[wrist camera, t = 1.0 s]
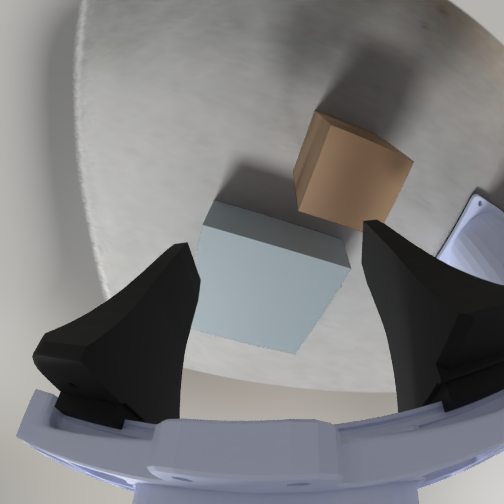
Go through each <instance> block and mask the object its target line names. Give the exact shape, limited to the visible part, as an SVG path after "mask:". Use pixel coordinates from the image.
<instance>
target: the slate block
mask: <svg viewBox="0 0 504 504" xmlns="http://www.w3.org/2000/svg"><path fill="white" fill-rule="evenodd" d="M195 265H196V268H197V271H198V273H199V276H200V279H201V284H200V292H199V299H198V304H197V307H196V311H195V315H194V318H193V322H192V325H191V329H193V330H197V331H200V332H204V333H207V334H211V335H215V336H219V337H222V338H226V339H230V340H234V341H238V342H242V343H246V344H250V345H255V346H259V347H263V348H268V349H272V350H277V351H282V352H286V353H291V354H296V352H297V351H298V350H299V348H300V347H301V345H302V344H303V343H304V341H305V340H306V338H307V337H308V335H309V334H310V332H311V331H312V329H313V328H314V327H315V325H316V324H317V322H318V321H319V319H320V318H321V316H322V315H323V313H324V311H325V310H326V308H327V307H328V305H329V304H330V302H331V301H332V299H333V298H334V296H335V294H336V293H337V291H338V290H339V288H340V286H341V285H342V283H343V282H344V280H345V278H346V277H347V275H348V273H349V272H350V270H351V266H350V263H349V260H348V257H347V253H346V250H345V247H344V244H343V241H342V240H341V239H338V238H335V237H332V236H329V235H326V234H323V233H320V232H317V231H314V230H311V229H308V228H305V227H302V226H299V225H295V224H292V223H289V222H286V221H283V220H279V219H276V218H273V217H270V216H266V215H263V214H260V213H257V212H253V211H250V210H247V209H243V208H240V207H236V206H233V205H230V204H226V203H223V202H219V201H216V200H214V201H213V204H212V206H211V208H210V210H209V212H208V214H207V216H206V219H205V221H204V223H203V226H202V230H201V234H200V239H199V243H198V248H197V252H196V257H195Z"/></svg>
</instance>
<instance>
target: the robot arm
mask: <svg viewBox="0 0 504 504" xmlns="http://www.w3.org/2000/svg"><path fill="white" fill-rule="evenodd" d="M479 201H480V203H479ZM478 203H479V204H478ZM362 266H363V270H364V274H365V277H366V281H367V284H368V287H369V289H370V292H371V294H372V297H373V299H374V302H375V304H376V307H377V309H378V312H379V315H380V317H381V320H382V323H383V325H384V329H385V332H386V336H387V340H388V344H389V349H390V354H391V359H392V364H393V370H394V377H395V384H396V392H397V402H398V413H396V414H391V415H387V416H382V417H377V418H372V419H366V420H361V421H355V422H348V423H342V424H334V425H333V424H331V423H328V422H323V421H319V420H315V419H303V420H302V419H287V420H266V421H216V420H196V419H180V416H179V415H180V414H179V413H180V412H179V411H180V389H181V379H182V369H183V362H184V354H185V349H186V344H187V340H188V336H189V333H190V329H191V325H192V322H193V318H194V315H195V311H196V307H197V304H198V299H199V292H200V284H201V279H200V276H199V273H198V271H197V268H196V265H195V262H194V260H193V257H192V254H191V251H190V248H189V245H188V242H187V243H179V244H174V245H173V246H171V247H170V248H169V249H168V250H166V251H165V252H164V253H163V254H162V255H161V256H160V257H159V258H157V259H156V260H155V261H154V262H153V263H152V264H151V265H150V266H149V267H148V268H147V269H146V270H145V271H143V272H142V273H141V274H140V275H139V276H138V277H137V278H135V279H134V280H133V281H132V282H131V283H130V284H129V285H127V286H126V287H125V288H124V289H122V290H121V291H120V292H119V293H117V294H116V295H114V296H113V297H112V298H110V299H109V300H108V301H106V302H105V303H103V304H101V305H100V306H98V307H97V308H95V309H94V310H92V311H91V312H89V313H87V314H85V315H84V316H82V317H80V318H78V319H76V320H74V321H72V322H70V323H68V324H66V325H64V326H62V327H59V328H57V329H55V330H52V331H50V332H48V333H45V334H44V336H43V337H42V339H41V341H40V343H39V344H38V346H37V348H36V350H35V351H34V353H33V360H34V364H35V365H36V367H37V368H38V370H39V371H40V372H41V373H42V374H43V375H44V376H45V377H46V378H47V379H48V380H49V381H50V382H51V383H52V384H53V385H54V386H55V387H56V388H58V389H59V390H60V391H61V392H60V395H59V397H57V396H55V395H53V394H51V393H47V392H44V391H41V390H38V389H36V390H35V392H34V394H33V396H32V398H31V400H30V403H29V405H28V407H27V410H26V412H25V415H24V417H23V419H22V422H21V424H20V427H19V430H18V432H17V438H18V439H20V440H21V441H23V442H24V443H26V444H27V445H29V446H30V447H32V448H34V449H35V450H37V451H38V452H40V453H42V454H43V455H45V456H47V457H48V458H50V459H52V460H54V461H56V462H58V463H60V464H62V465H64V466H66V467H69V468H71V469H73V470H75V471H78V472H80V473H83V474H85V475H88V476H90V477H92V478H95V479H98V480H100V481H103V482H106V483H109V484H111V485H114V486H118V487H120V488H123V489H127V490H130V491H133V492H135V494H134V499H133V504H419V500H418V491H417V489H418V488H421V487H424V486H427V485H430V484H433V483H436V482H438V481H441V480H443V479H446V478H448V477H451V476H453V475H456V474H458V473H460V472H462V471H465V470H467V469H469V468H471V467H473V466H475V465H477V464H480V463H482V462H483V461H485V460H487V459H489V458H491V457H493V456H495V455H497V454H499V453H500V452H502V451H504V212H502V211H501V210H500V209H498V208H497V207H496V206H494V205H493V204H491V203H490V202H488V201H487V200H485V199H484V198H482V197H481V196H479V195H478V194H474V195H472V197H471V199H470V201H469V202H468V204H467V206H466V208H465V210H464V212H463V214H462V215H461V217H460V219H459V221H458V223H457V224H456V226H455V228H454V230H453V231H452V233H451V235H450V236H449V238H448V240H447V241H446V243H445V245H444V246H443V248H442V249H441V251H440V253H439V254H438V256H437V257H436V258H435V257H433V256H432V255H430V254H428V253H427V252H425V251H424V250H422V249H420V248H419V247H417V246H416V245H414V244H413V243H411V242H410V241H408V240H407V239H405V238H404V237H402V236H401V235H400V234H398V233H397V232H395V231H394V230H392V229H391V228H390V227H388V226H387V225H385V224H384V223H382V222H381V221H379V220H367V221H363V241H362Z"/></svg>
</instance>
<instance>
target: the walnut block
mask: <svg viewBox="0 0 504 504" xmlns="http://www.w3.org/2000/svg"><path fill="white" fill-rule="evenodd" d="M413 163H414V161H412V160H411V159H410V158H409V157H407V156H406V155H405V154H403V153H402V152H400V151H399V150H398V149H396V148H395V147H394V146H392V145H391V144H389V143H388V142H386V141H385V140H384V139H382V138H381V137H379V136H378V135H376V134H373V133H371V132H369V131H367V130H364V129H362V128H360V127H357V126H355V125H352V124H350V123H347V122H345V121H342V120H340V119H337V118H335V117H332V116H329V115H327V114H324V113H321V112H318V111H314V114H313V117H312V120H311V123H310V125H309V128H308V131H307V134H306V137H305V140H304V142H303V145H302V148H301V151H300V154H299V157H298V159H297V162H296V165H295V168H294V171H293V175H294V183H295V190H296V198H297V205H298V211H300V212H303V213H306V214H310V215H313V216H316V217H319V218H322V219H325V220H328V221H331V222H335V223H338V224H341V225H344V226H347V227H350V228H353V229H356V230H359V231H361V232H363V221H367V220H379V221H381V222H382V223H384V222H385V220H386V218H387V216H388V214H389V212H390V210H391V208H392V207H393V205H394V203H395V201H396V199H397V197H398V194H399V192H400V190H401V188H402V186H403V184H404V182H405V180H406V178H407V176H408V173H409V171H410V169H411V167H412V165H413Z"/></svg>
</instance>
